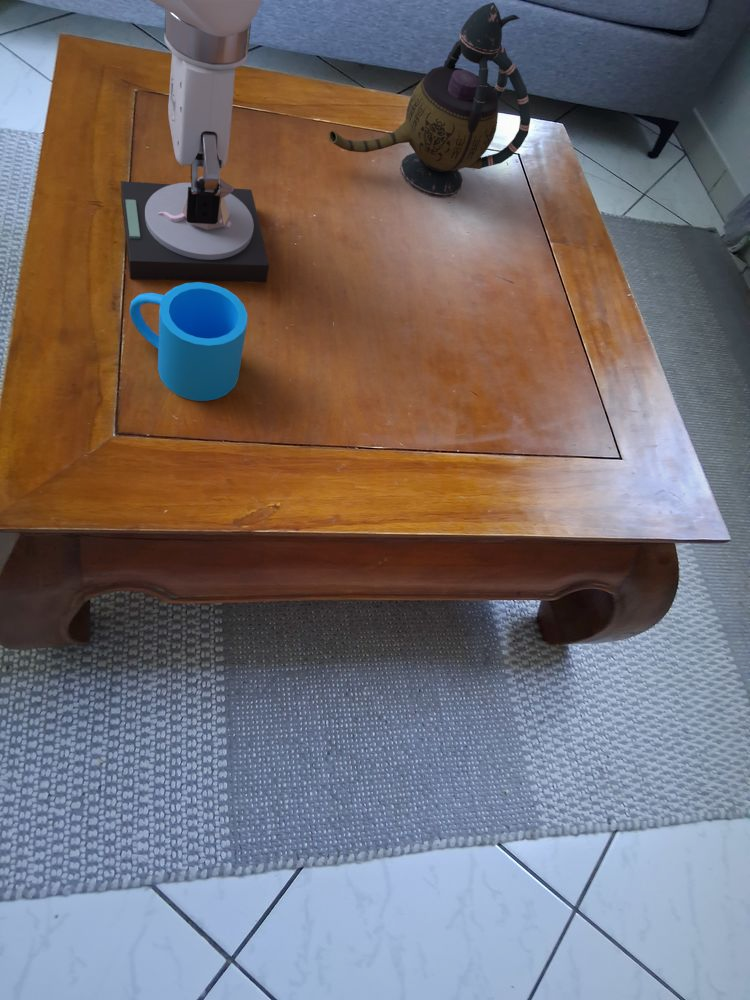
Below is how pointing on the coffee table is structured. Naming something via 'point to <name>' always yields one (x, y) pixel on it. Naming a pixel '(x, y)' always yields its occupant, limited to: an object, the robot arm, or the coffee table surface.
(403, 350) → the coffee table surface
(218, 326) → the mug
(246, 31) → the robot arm
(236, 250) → the kitchen scale
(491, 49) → the teapot
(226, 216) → the mouse figurine
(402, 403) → the coffee table surface
